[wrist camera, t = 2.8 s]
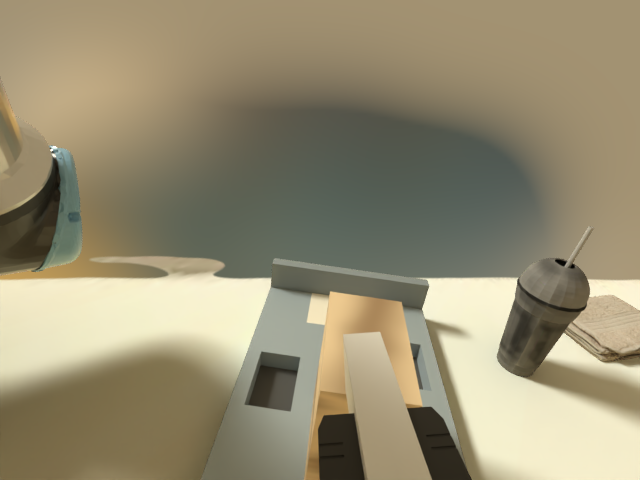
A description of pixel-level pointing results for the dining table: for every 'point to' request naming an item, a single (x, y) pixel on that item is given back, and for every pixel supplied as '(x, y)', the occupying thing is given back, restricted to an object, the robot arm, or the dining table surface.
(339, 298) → the oak block
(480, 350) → the dining table surface
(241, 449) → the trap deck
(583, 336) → the washcloth
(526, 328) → the beverage cup
